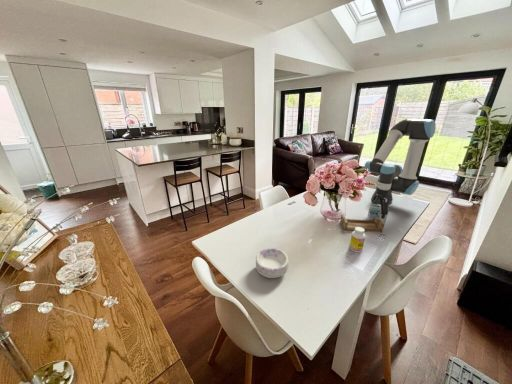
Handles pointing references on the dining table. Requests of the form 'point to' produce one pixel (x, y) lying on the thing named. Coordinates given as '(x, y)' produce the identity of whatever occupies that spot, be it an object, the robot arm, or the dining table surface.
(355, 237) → the supplement bottle
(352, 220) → the tray
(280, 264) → the white marbled bowl
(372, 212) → the light bulb box
